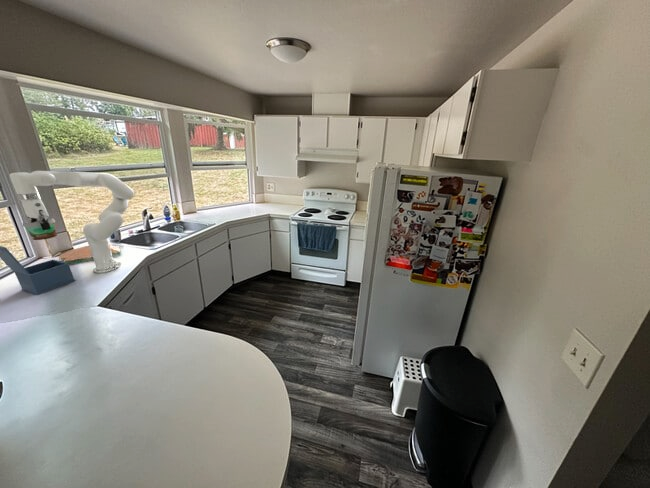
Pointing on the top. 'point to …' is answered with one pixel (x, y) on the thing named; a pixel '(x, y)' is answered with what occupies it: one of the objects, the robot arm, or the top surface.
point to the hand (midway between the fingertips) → (42, 228)
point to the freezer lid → (12, 261)
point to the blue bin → (45, 276)
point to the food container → (40, 230)
